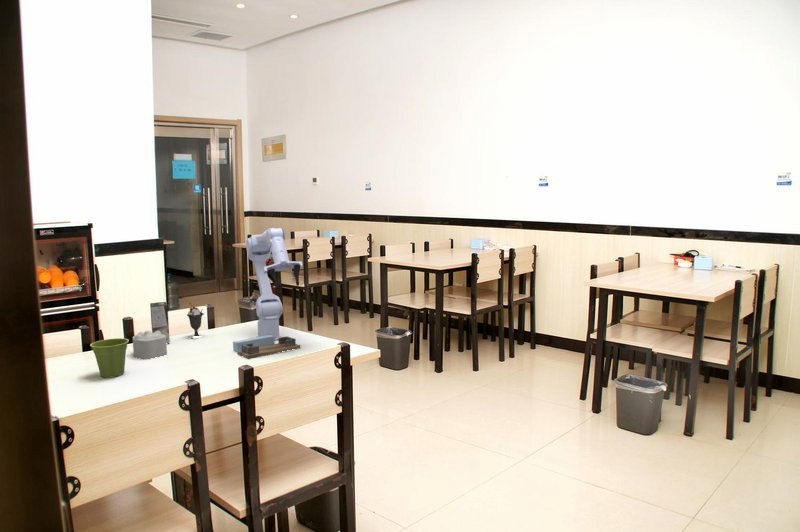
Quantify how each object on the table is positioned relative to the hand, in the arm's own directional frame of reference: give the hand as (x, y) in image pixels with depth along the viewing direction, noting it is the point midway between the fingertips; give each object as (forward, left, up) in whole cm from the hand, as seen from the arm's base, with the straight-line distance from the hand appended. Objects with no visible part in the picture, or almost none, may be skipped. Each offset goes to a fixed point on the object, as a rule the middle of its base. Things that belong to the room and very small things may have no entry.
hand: (287, 286), depth 226 cm
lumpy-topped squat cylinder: (-36, -40, -26) cm, 60 cm away
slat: (-17, -6, -26) cm, 32 cm away
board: (-8, -4, -26) cm, 27 cm away
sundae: (-50, -16, -26) cm, 58 cm away
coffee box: (-52, -30, -26) cm, 65 cm away
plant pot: (-18, -58, -26) cm, 66 cm away
